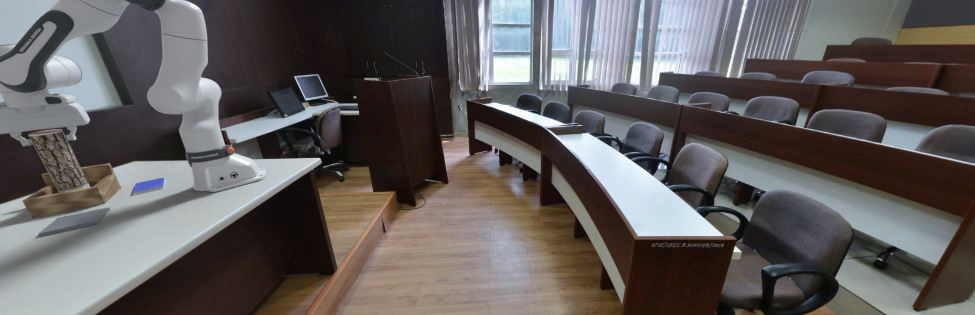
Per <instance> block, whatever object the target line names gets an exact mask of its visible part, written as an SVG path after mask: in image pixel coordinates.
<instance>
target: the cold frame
mask: <svg viewBox="0 0 975 315" xmlns="http://www.w3.org/2000/svg"><path fill="white" fill-rule="evenodd" d="M81 169H82V171H83V173H84V175H85V177H86V179H87V181H88V183H89V185H90V188H84V189H79V190H73V191H68V192H62V193H59V192H58V190H57V189H56V187H55V185H54V183H53V181H52V179H51V177H50V175H49V173H48V172H46V173H41V175H40V176H41V178H42V179H43V181H44V183H45V185H46V186H44V187H42V188H41V189H39V190H38V191H36V192H34V193H32V194H31V195H29V196H28V197H26V198H24V199H23V200H22V203H23V205H24V207H25V208H26V210H27V211H28V213H29V215H30V217H31V219H34V218H38V217H39V218H40V217H43V216H49V215H53V214H54V213H55V214H59V212H60V213H65V212H69V211H74V210H79V209H83V208H88V207H93V206H98V205H103V204H104V205H105V204H106V203H107V202H108V201H110V200H111V199H112V197H113V196H115V195H116V194H117V193H118V191H120V189H122V185H121V184H120V182H119V180H118V177H117V176H116V172H114V169H113V166H112V165H111V163H110V162H108V163H104V164H96V165H89V166H84V167H81ZM64 211H65V212H64ZM55 214H54V215H55Z"/></svg>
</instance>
